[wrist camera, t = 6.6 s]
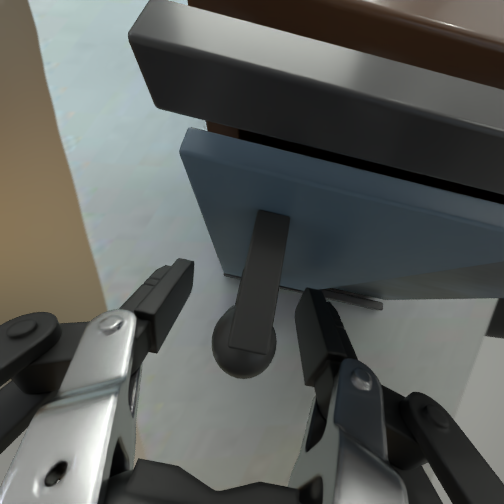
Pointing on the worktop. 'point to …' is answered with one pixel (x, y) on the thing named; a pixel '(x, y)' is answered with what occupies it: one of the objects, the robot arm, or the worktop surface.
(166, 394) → the worktop surface
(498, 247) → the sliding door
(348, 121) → the cupboard
